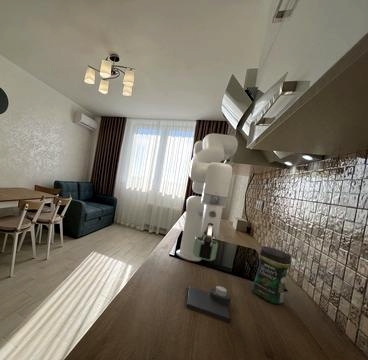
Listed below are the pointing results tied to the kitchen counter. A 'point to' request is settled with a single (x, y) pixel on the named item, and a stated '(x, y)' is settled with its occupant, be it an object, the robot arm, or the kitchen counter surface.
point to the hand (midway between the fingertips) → (204, 253)
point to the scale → (209, 303)
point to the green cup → (198, 245)
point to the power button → (221, 291)
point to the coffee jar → (271, 274)
